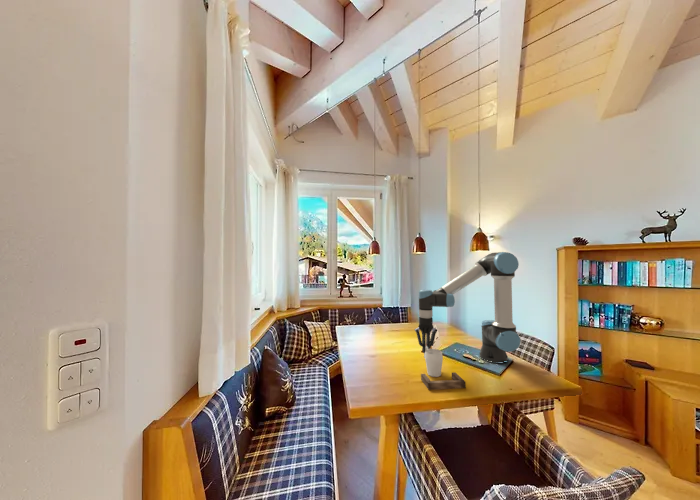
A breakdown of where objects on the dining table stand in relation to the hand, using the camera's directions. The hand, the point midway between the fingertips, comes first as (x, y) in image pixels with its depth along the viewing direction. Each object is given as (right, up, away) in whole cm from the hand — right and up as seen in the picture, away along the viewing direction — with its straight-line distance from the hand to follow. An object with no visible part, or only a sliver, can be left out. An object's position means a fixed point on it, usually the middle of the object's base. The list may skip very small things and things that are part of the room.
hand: (426, 358), depth 147 cm
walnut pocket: (+2, -4, -22) cm, 22 cm away
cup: (+1, -4, -11) cm, 12 cm away
